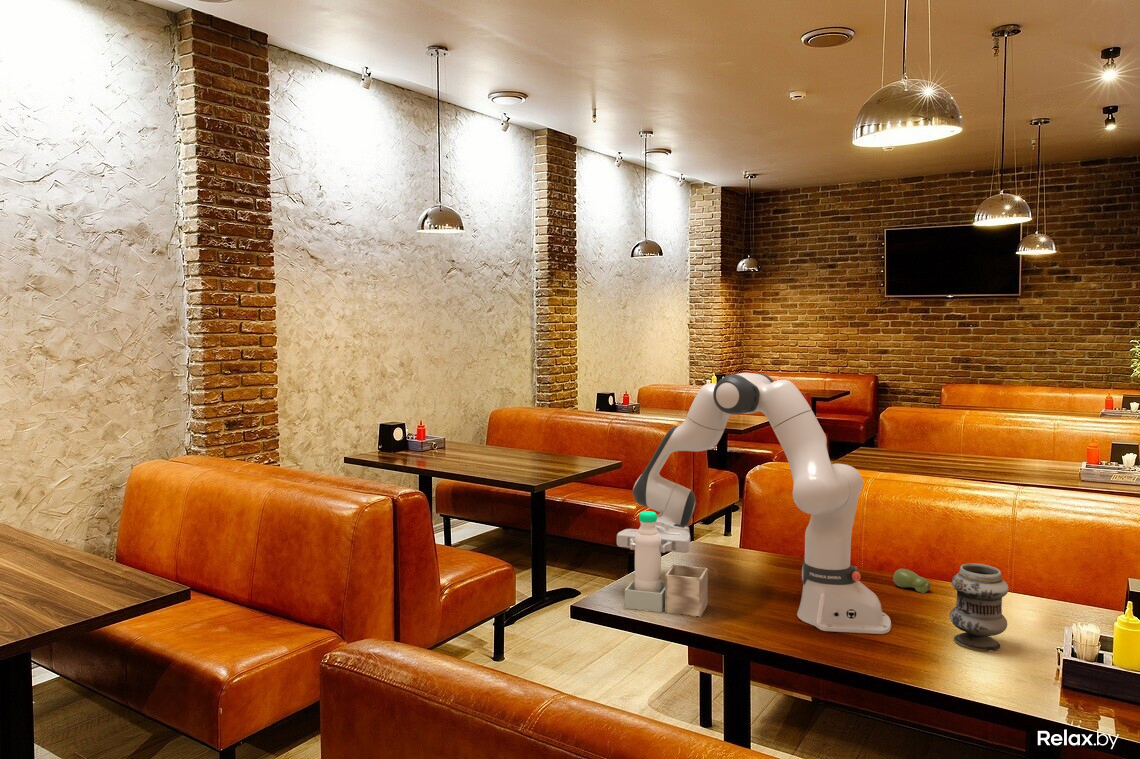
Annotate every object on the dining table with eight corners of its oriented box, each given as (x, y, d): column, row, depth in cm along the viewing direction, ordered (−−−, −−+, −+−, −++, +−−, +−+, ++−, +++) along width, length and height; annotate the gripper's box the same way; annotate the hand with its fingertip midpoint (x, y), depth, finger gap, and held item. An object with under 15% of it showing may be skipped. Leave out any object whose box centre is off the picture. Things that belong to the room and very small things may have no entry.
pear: (899, 564, 229) (935, 577, 223) (896, 581, 230) (931, 594, 224) (892, 568, 225) (928, 581, 219) (888, 585, 226) (924, 599, 220)
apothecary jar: (976, 656, 179) (978, 578, 178) (937, 636, 190) (939, 563, 189) (1018, 650, 182) (1021, 573, 181) (978, 630, 194) (980, 558, 193)
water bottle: (660, 600, 216) (661, 509, 214) (661, 609, 209) (661, 515, 207) (634, 599, 217) (635, 509, 215) (634, 608, 210) (634, 515, 208)
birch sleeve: (707, 604, 212) (707, 568, 212) (700, 617, 203) (701, 578, 203) (672, 600, 215) (672, 564, 215) (665, 612, 207) (665, 575, 206)
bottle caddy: (670, 600, 216) (670, 582, 216) (661, 612, 207) (661, 593, 206) (634, 596, 219) (634, 578, 219) (624, 608, 210) (624, 589, 210)
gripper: (623, 521, 227) (609, 533, 214) (694, 527, 220) (684, 539, 207) (623, 542, 228) (609, 556, 215) (694, 549, 221) (684, 563, 208)
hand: (647, 548), depth 211 cm, fingers closed on water bottle, 6 cm apart
